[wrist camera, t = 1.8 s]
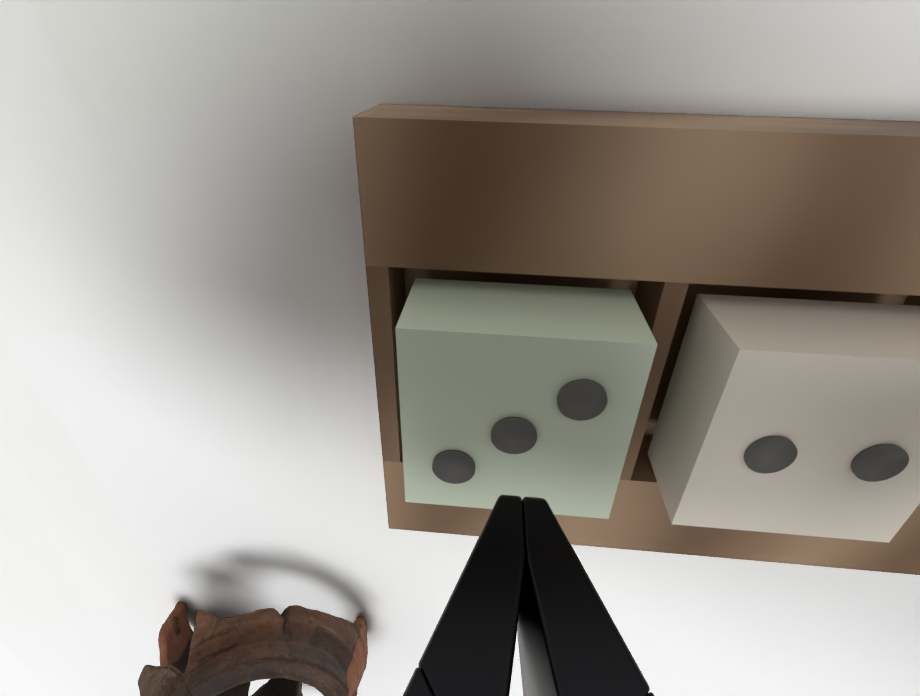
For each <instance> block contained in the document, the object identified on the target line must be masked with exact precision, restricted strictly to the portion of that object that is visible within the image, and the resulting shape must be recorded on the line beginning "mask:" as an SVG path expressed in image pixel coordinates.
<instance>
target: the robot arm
mask: <svg viewBox="0 0 920 696" xmlns="http://www.w3.org/2000/svg"><path fill="white" fill-rule="evenodd" d="M517 632H518V643H519V654H520V664H521V674H522V685H523V695H524V696H654V694H653V693H651V692H650V693H648V692H649V689H650V688H649V686H648V684H647V682H646V680H645V678H644V676H643V675H642V673H641V671H640V669H639V667H638V666H637V664H636V662H635V660H634V658H633V657H632V655H631V653H630V651H629V649H628V647H627V646H626V644H625V642H624V640H623V638H622V637H621V635H620V633H619V631H618V629H617V628H616V626H615V624H614V622H613V620H612V618H611V617H610V615H609V613H608V611H607V609H606V608H605V606H604V604H603V602H602V600H601V598H600V597H599V595H598V593H597V591H596V589H595V588H594V586H593V584H592V582H591V580H590V579H589V577H588V575H587V573H586V571H585V569H584V568H583V566H582V564H581V562H580V560H579V559H578V557H577V555H576V553H575V551H574V550H573V548H572V546H571V544H570V542H569V540H568V539H567V537H566V535H565V533H564V531H563V530H562V528H561V526H560V524H559V522H558V521H557V519H556V517H555V515H554V513H553V511H552V510H551V508H550V506H549V504H548V503H547V501H546V500H545V499H544V498H537V497H524V498H523V499H521V497H520V496H513V495H500V496H499V497H498V499H497V501H496V503H495V505H494V507H493V509H492V511H491V513H490V516H489V518H488V520H487V522H486V524H485V526H484V528H483V530H482V532H481V534H480V536H479V538H478V541H477V543H476V545H475V547H474V549H473V551H472V553H471V555H470V557H469V559H468V561H467V564H466V566H465V568H464V570H463V572H462V574H461V576H460V578H459V580H458V582H457V584H456V586H455V589H454V591H453V593H452V595H451V597H450V599H449V601H448V603H447V605H446V607H445V609H444V612H443V614H442V616H441V618H440V620H439V622H438V624H437V626H436V628H435V630H434V632H433V634H432V637H431V639H430V641H429V643H428V645H427V647H426V649H425V651H424V653H423V655H422V657H421V659H420V662H419V668H416V669H415V671H414V673H413V676H412V678H411V680H410V682H409V684H408V686H407V688H406V690H405V692H404V694H403V696H509V691H510V683H511V674H512V666H513V658H514V650H515V642H516V633H517Z"/></svg>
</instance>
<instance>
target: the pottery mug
mask: <svg viewBox="0 0 920 696" xmlns="http://www.w3.org/2000/svg"><path fill="white" fill-rule="evenodd" d="M158 641H159V649H160V665H161V666H151V665H145V666H144V668H143V670H142V672H141V675H140V677H139V680H138V686H139V689H140V696H248V691H249V687H250V681H254V680H259V679H270V678H271V679H270V680H269V681H268V682H267V683H266V684H264V685H262V686H261V687H260V688H259V689H258V690H257V691H256V692H255V693H254V694H253V695H252V696H303V694H302V692H301V689H302V682H303V683H305V684H308V685H310V686H313V687H315V688H316V689H317V690H318V691H320V692H321V693H322V694H323V695H324V696H357V688H358V686H359V683H360V681H361V678H362V675H363V673H364V670H365V668H366V663H367V654H368V646H367V632H366V624H365V621H364V619H363V617H359V618H358V619H356V620H355V622H354V623H351V622H349V621H347V620H345V619H342V618H339V617H335V616H332V615H330V614H327V613H324V612H320V611H317V610H311V609H307V608H304V607H302V606H297V605H294V606H289V607H287V608H286V609H285V610H284V611H283V613H282V614H281V615H280V614H279V613H278V612H277V611H276V610H275V609H273V608H267V609H261V610H256V611H254V612H252V613H247V614H244V615H240V616H236V617H232V618H218V617H215V616H213V615H212V614H210V613H208V612H203V611H199V612H198V613H197V615H196V625H195V628H194V631H192V629H191V627H190V624H189V621H188V618H187V615H186V605H185V604H184V603H183V602H178V603H177V604H176V606H175V608H174V610H173V611H172V612H171V614H170V615H169V617H168V618H167V620H166V621H165V623H164V624H163V625H162V627H161V630H160V632H159V639H158Z"/></svg>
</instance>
